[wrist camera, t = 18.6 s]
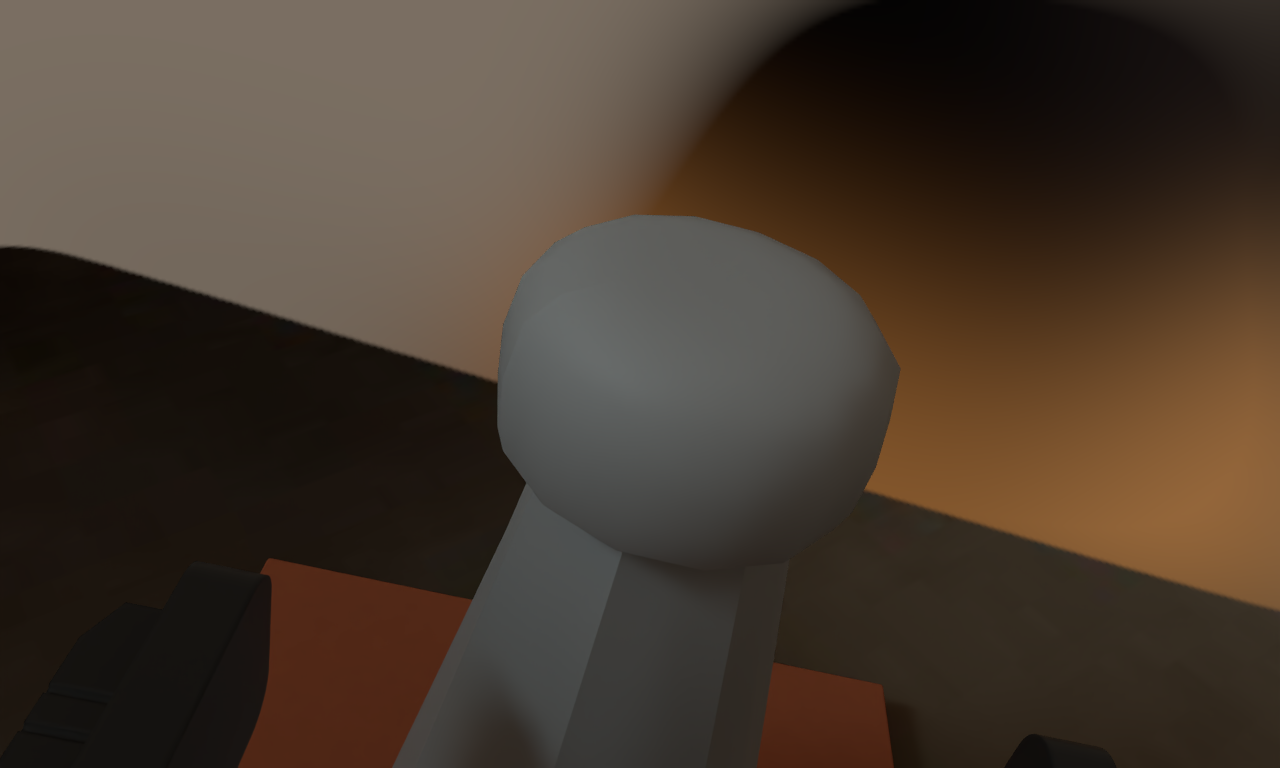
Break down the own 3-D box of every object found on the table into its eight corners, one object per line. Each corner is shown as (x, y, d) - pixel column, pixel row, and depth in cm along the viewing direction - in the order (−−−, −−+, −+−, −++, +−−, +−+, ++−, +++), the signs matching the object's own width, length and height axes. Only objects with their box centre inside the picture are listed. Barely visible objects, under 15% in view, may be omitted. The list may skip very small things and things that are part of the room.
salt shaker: (457, 736, 22) (577, 107, 14) (732, 859, 21) (1011, 257, 13) (281, 1023, 17) (325, 300, 10) (628, 1199, 16) (974, 552, 9)
